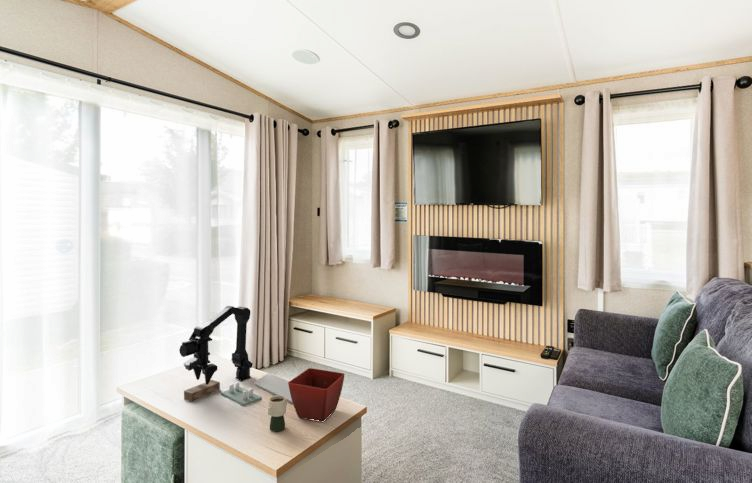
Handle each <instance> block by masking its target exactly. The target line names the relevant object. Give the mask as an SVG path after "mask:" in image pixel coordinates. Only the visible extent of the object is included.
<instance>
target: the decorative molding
mask: <svg viewBox="0 0 752 483" xmlns="http://www.w3.org/2000/svg"><path fill="white" fill-rule="evenodd" d="M289 381H290V380H287V379H284V378H282V377H280V376H278V375H275V374H273V373H270V372H268V373H266V374H265V375H263V376H262V377H260V378H258V379H257V380H255V381H254V382H253V385H254V386H256V387H258V388H260V389H262V390H263V391H266V392H267V393H270V394H272V395H273V396H276V395H283V396H285V397H286V399H287V403H290V404H293V402H292V398H291V395H290V390H289V384H288V382H289Z"/></svg>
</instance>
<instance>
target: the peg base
mask: <svg viewBox="0 0 752 483" xmlns="http://www.w3.org/2000/svg"><path fill="white" fill-rule="evenodd" d="M234 384H235V386H234ZM228 386H229V387H228V388H229V389H227V390H225V391H222V392H220V395H221V396H223V397H225V398H227V399H229V400H231V401H232V402H234V403H236V404H238V405H240V406H242V407H245V406H248V405H250V404H253V403H256V402H259V401H261V400H262V399H263V398H262V396H260V395H257V394H256V393H254V388H253V387H252V388H251V387H250V388H249V389H248V390H247V389H246V388H243V387H241V386H240V381H236V382H235V383H230V384H229V385H228Z"/></svg>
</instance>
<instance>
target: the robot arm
mask: <svg viewBox="0 0 752 483" xmlns="http://www.w3.org/2000/svg"><path fill="white" fill-rule="evenodd" d="M231 315H234V319H235V321H236V343H235V344H236V345H235V347H236V348H235V350H234V352H231V362H232V364H233V365H234V367H235V368H236V372H235V377H234V378H235V379H236V380H238V381H239V382H243V381H245V380H246V381H247V380H248V379H252V376H251V369H252V368H253V365H254V364H253V362H251V361H250V360H249V354H248V352H247V349H246V346H247V345H246V344H247V323H248V322H249V321H250V318H251V309H250V308H248V307H244V306H237V307H235V306H232V305H227V306H225V307H224V308H223V309H222V310H221V311H219V312H218V313H216V315H214V316H213V317H212V318H210V319H209V320H208V321H206V322H201V323H199V324H198V325H196V326H195V327H194V328H193V331H192V333H191V335H190V336H189V339H188V341H182V342H181V345H180V347H179V354H180V356H181V357H183V358H185V357H189V356H191V355H193V357H191V358H190V359H189V358H188V359H187V360H185V362H183V366H184V368H185V369H186V370H188V371H192V370H193V372H194V376H195V378H196V380H197V381H199V380H200V377H201V374H202V375H204V380H205V381H204V383H205V382H206V385H207V384H209V382H210V380H212V378H213V376H214V374H215V372H217V371H218V366H217V365H216V364H215V363H211V360H209V356H210V355H211V352H209V342H211V341H213V338H211V337H210V336H211V334H213V333H214V330H215V329H216V328H217V327H218V326H219V325H221V324H222V323H223V322H224V321H226V320H227V319H228V318H229V317H231Z"/></svg>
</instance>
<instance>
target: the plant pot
mask: <svg viewBox="0 0 752 483" xmlns="http://www.w3.org/2000/svg"><path fill="white" fill-rule="evenodd" d="M288 381H289V382H288V384H289V390H290V395H291V398H292V402H293V408H294V410H295V412H296V415H297V418H299V417H300V418H299V419H303V418H307V419H314V420H319V421H324V420H325V419H326V418H327V417H328V416H329V415H330V414H331V413H332V412H333V411H334V410H335V409H336V410H337V408H338V404H339V401H340V397H341V394H342V390H343V386H344V385H343V384H344V381H345V373H344V372H339V371H332V370H326V369H324V370H323V369H318V368H312V367H309V368H307V369H305V370H304V371H302V372H301V373H299V374H298V375H297V376H295V377H294V378H292V379H291V380H288ZM336 410H335V411H336ZM335 411H334V412H335ZM334 412H333V413H334ZM333 413H332V414H333ZM332 414H331V415H332ZM331 415H330V416H331ZM330 416H329V417H330ZM329 417H328V418H329ZM328 418H327V419H328ZM307 419H306V420H307ZM327 419H326V420H327ZM326 420H325V421H326ZM325 421H324V422H325Z"/></svg>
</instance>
